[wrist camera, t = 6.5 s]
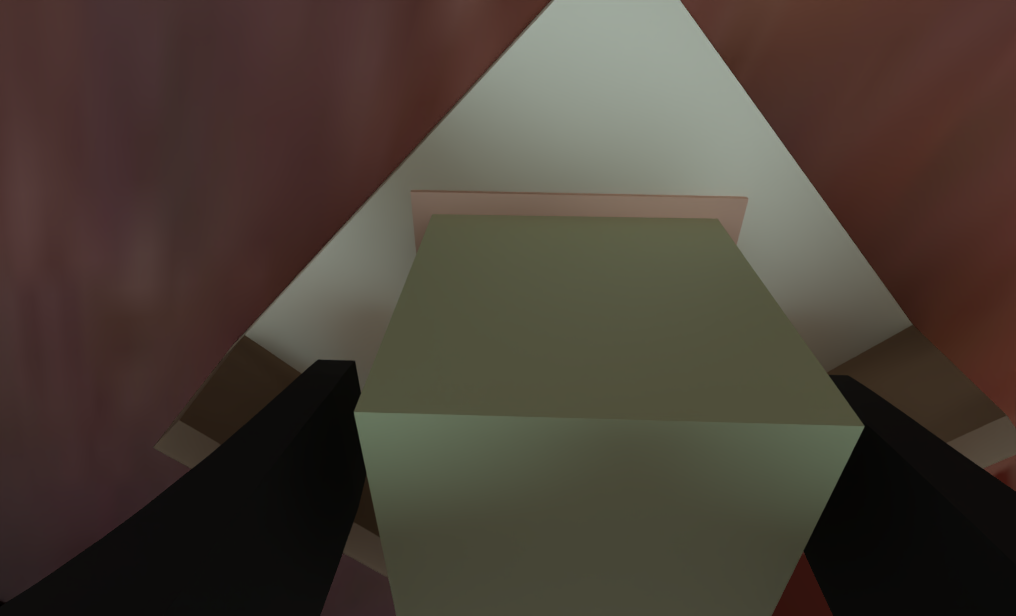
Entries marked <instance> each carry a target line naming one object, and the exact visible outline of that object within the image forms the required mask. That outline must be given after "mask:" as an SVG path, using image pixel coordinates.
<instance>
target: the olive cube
mask: <svg viewBox="0 0 1016 616" xmlns="http://www.w3.org/2000/svg"><path fill="white" fill-rule="evenodd" d="M354 416H355V420H356V425H357V430H358V435H359V439H360V444H361V449H362V454H363V459H364V463H365V468H366V473H367V478H368V482H369V487H370V492H371V497H372V502H373V506H374V511H375V516H376V521H377V525H378V530H379V535H380V540H381V545H382V549H383V554H384V559H385V564H386V568H387V573H388V578H389V583H390V588H391V592H392V597H393V602H394V607H395V611H396V616H771V615H772V613H773V611H774V609H775V607H776V605H777V603H778V601H779V599H780V597H781V595H782V593H783V591H784V589H785V587H786V585H787V583H788V581H789V579H790V577H791V575H792V573H793V571H794V569H795V567H796V564H797V563H798V561H799V559H800V557H801V555H802V553H803V551H804V548H805V546H806V544H807V542H808V540H809V538H810V536H811V534H812V532H813V530H814V528H815V526H816V524H817V522H818V520H819V518H820V516H821V514H822V512H823V510H824V508H825V506H826V504H827V502H828V500H829V498H830V496H831V494H832V492H833V490H834V488H835V486H836V484H837V481H838V479H839V477H840V475H841V473H842V471H843V469H844V467H845V465H846V463H847V461H848V459H849V457H850V455H851V453H852V451H853V449H854V447H855V445H856V443H857V441H858V439H859V437H860V435H861V433H862V431H863V429H864V427H865V426H864V425H863V423H862V422H861V420H860V419H859V418H858V416H857V415H856V413H855V412H854V411H853V409H852V408H851V406H850V405H849V403H848V402H847V401H846V399H845V398H844V396H843V395H842V394H841V392H840V391H839V389H838V388H837V387H836V385H835V384H834V382H833V381H832V379H831V378H830V377H829V375H828V374H827V372H826V371H825V370H824V368H823V367H822V365H821V364H820V363H819V361H818V360H817V358H816V357H815V356H814V354H813V353H812V351H811V350H810V348H809V347H808V346H807V344H806V343H805V341H804V340H803V339H802V337H801V336H800V334H799V333H798V332H797V330H796V329H795V327H794V326H793V324H792V323H791V322H790V320H789V319H788V317H787V316H786V315H785V313H784V312H783V310H782V309H781V308H780V306H779V305H778V303H777V302H776V300H775V299H774V298H773V296H772V295H771V293H770V292H769V291H768V289H767V288H766V286H765V285H764V284H763V282H762V281H761V279H760V278H759V276H758V275H757V274H756V272H755V271H754V269H753V268H752V267H751V265H750V264H749V262H748V261H747V260H746V258H745V257H744V255H743V254H742V252H741V251H740V250H739V248H738V247H737V245H736V244H735V243H734V241H733V240H732V238H731V237H730V236H729V234H728V233H727V231H726V230H725V229H724V227H723V226H722V224H721V223H720V221H719V220H718V219H709V218H645V217H581V216H517V215H452V214H432V216H431V219H430V221H429V224H428V226H427V229H426V231H425V234H424V236H423V239H422V241H421V244H420V246H419V249H418V251H417V254H416V257H415V259H414V262H413V264H412V267H411V269H410V272H409V274H408V277H407V279H406V282H405V284H404V287H403V289H402V292H401V294H400V297H399V299H398V302H397V304H396V307H395V309H394V312H393V314H392V317H391V319H390V322H389V325H388V327H387V330H386V332H385V335H384V337H383V340H382V342H381V345H380V347H379V350H378V352H377V355H376V357H375V360H374V362H373V365H372V367H371V370H370V372H369V375H368V377H367V380H366V382H365V385H364V387H363V390H362V392H361V395H360V398H359V400H358V403H357V405H356V408H355V410H354Z"/></svg>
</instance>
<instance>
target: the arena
mask: <svg viewBox="0 0 1016 616" xmlns="http://www.w3.org/2000/svg"><path fill="white" fill-rule="evenodd" d="M432 214H452V215H517V216H581V217H645V218H709V219H718V220H719V221H720V223H721V224H722V226H723V227H724V229H725V230H726V231H727V233H728V234H729V236H730V237H731V238H732V240H733V241H734V243H735V244H736V245H737V247H738V248H739V250H740V251H741V252H742V254H743V255H744V257H745V258H746V260H747V261H748V262H749V264H750V265H751V267H752V268H753V269H754V271H755V272H756V274H757V275H758V276H759V278H760V279H761V281H762V282H763V284H764V285H765V286H766V288H767V289H768V291H769V292H770V293H771V295H772V296H773V298H774V299H775V300H776V302H777V303H778V305H779V306H780V308H781V309H782V310H783V312H784V313H785V315H786V316H787V317H788V319H789V320H790V322H791V323H792V324H793V326H794V327H795V329H796V330H797V332H798V333H799V334H800V336H801V337H802V339H803V340H804V341H805V343H806V344H807V346H808V347H809V348H810V350H811V351H812V353H813V354H814V356H815V357H816V358H817V360H818V361H819V363H820V364H821V365H822V367H823V368H824V370H825V371H826V372H827V374H828V375H848V376H850V377H852V378H853V379H855V380H856V381H858V382H860V383H861V384H863V385H864V386H866V387H867V388H869V389H870V390H872V391H873V392H875V393H876V394H878V395H879V396H881V397H882V398H884V399H885V400H886V401H888V402H889V403H891V404H892V405H894V406H895V407H896V408H898V409H899V410H901V411H902V412H904V413H905V414H906V415H908V416H909V417H911V418H912V419H913V420H915V421H916V422H918V423H919V424H920V425H922V426H923V427H925V428H926V429H927V430H929V431H930V432H932V433H933V434H934V435H936V436H937V437H939V438H940V439H941V440H943V441H944V442H946V443H947V444H948V445H950V446H951V447H953V448H954V449H955V450H957V451H958V452H960V453H961V454H963V455H964V456H965V457H967V458H968V459H970V460H971V461H972V462H974V463H975V464H977V465H978V466H980V467H981V468H982V469H983V468H985V467H987V466H990V465H992V464H994V463H997V462H999V461H1001V460H1004V459H1006V458H1008V457H1011V456H1013V455H1015V454H1016V428H1015V427H1014V425H1013V424H1012V422H1011V421H1010V420H1009V418H1008V417H1007V415H1006V414H1005V413H1004V412H1003V411H1002V410H1001V409H1000V408H999V407H997V406H996V405H995V404H994V403H993V402H992V401H991V400H990V399H989V398H988V397H987V396H986V395H985V394H984V393H983V392H982V391H981V390H980V389H979V388H978V387H977V386H976V385H975V384H974V383H973V382H972V381H971V380H969V379H968V378H967V377H966V376H965V375H964V374H963V373H962V372H961V371H960V370H959V369H958V368H957V367H956V366H955V365H954V364H953V363H952V362H951V361H950V360H949V359H948V358H947V357H946V356H945V355H944V354H943V353H941V352H940V351H939V350H938V349H937V348H936V347H935V346H934V345H933V344H932V343H931V342H930V341H929V340H928V339H927V338H926V337H925V336H924V335H923V334H922V333H921V332H920V331H919V330H918V329H917V328H916V327H915V326H913V324H912V323H911V322H910V320H909V319H908V317H907V316H906V315H905V313H904V312H903V311H902V309H901V308H900V306H899V305H898V304H897V302H896V301H895V299H894V298H893V297H892V295H891V294H890V292H889V291H888V290H887V288H886V287H885V285H884V284H883V283H882V281H881V280H880V278H879V277H878V276H877V274H876V273H875V271H874V270H873V269H872V267H871V266H870V265H869V263H868V262H867V260H866V259H865V258H864V256H863V255H862V253H861V252H860V251H859V249H858V248H857V246H856V245H855V244H854V242H853V241H852V239H851V238H850V237H849V235H848V234H847V232H846V231H845V230H844V228H843V227H842V226H841V224H840V223H839V221H838V220H837V219H836V217H835V216H834V214H833V213H832V212H831V210H830V209H829V207H828V206H827V205H826V203H825V202H824V200H823V199H822V198H821V196H820V195H819V193H818V192H817V191H816V189H815V188H814V186H813V185H812V184H811V182H810V181H809V180H808V178H807V177H806V175H805V174H804V173H803V171H802V170H801V168H800V167H799V166H798V164H797V163H796V161H795V160H794V159H793V157H792V156H791V154H790V153H789V152H788V150H787V149H786V147H785V146H784V145H783V143H782V142H781V140H780V139H779V138H778V136H777V135H776V134H775V132H774V131H773V129H772V128H771V127H770V125H769V124H768V122H767V121H766V120H765V118H764V117H763V115H762V114H761V113H760V111H759V110H758V108H757V107H756V106H755V104H754V103H753V101H752V100H751V99H750V97H749V96H748V95H747V93H746V92H745V90H744V89H743V88H742V86H741V85H740V83H739V82H738V81H737V79H736V78H735V76H734V75H733V74H732V72H731V71H730V69H729V68H728V67H727V65H726V64H725V62H724V61H723V60H722V58H721V57H720V55H719V54H718V53H717V51H716V50H715V49H714V47H713V46H712V44H711V43H710V42H709V40H708V39H707V37H706V36H705V35H704V33H703V32H702V30H701V29H700V28H699V26H698V25H697V23H696V22H695V21H694V19H693V18H692V16H691V15H690V14H689V12H688V11H687V9H686V8H685V7H684V5H683V4H682V3H681V1H680V0H551V1H550V2H549V3H548V5H547V6H546V7H545V8H544V9H543V10H542V11H541V12H540V13H539V14H538V15H537V16H536V18H535V19H534V20H533V21H532V22H531V23H530V24H529V25H528V26H527V27H526V28H525V29H524V31H523V32H522V33H521V34H520V35H519V36H518V37H517V38H516V39H515V40H514V41H513V42H512V44H511V45H510V46H509V47H508V48H507V49H506V50H505V51H504V52H503V53H502V54H501V55H500V57H499V58H498V59H497V60H496V61H495V62H494V63H493V64H492V65H491V66H490V67H489V68H488V70H487V71H486V72H485V73H484V74H483V75H482V76H481V77H480V78H479V79H478V80H477V81H476V83H475V84H474V85H473V86H472V87H471V88H470V89H469V90H468V91H467V92H466V93H465V94H464V96H463V97H462V98H461V99H460V100H459V101H458V102H457V103H456V104H455V105H454V106H453V107H452V109H451V110H450V111H449V112H448V113H447V114H446V115H445V116H444V117H443V118H442V119H441V120H440V122H439V123H438V124H437V125H436V126H435V127H434V128H433V129H432V130H431V131H430V132H429V133H428V135H427V136H426V137H425V138H424V139H423V140H422V141H421V142H420V143H419V144H418V145H417V146H416V148H415V149H414V150H413V151H412V152H411V153H410V154H409V155H408V156H407V157H406V158H405V159H404V161H403V162H402V163H401V164H400V165H399V166H398V167H397V168H396V169H395V170H394V171H393V172H392V174H391V175H390V176H389V177H388V178H387V179H386V180H385V181H384V182H383V183H382V184H381V185H380V187H379V188H378V189H377V190H376V191H375V192H374V193H373V194H372V195H371V196H370V197H369V198H368V200H367V201H366V202H365V203H364V204H363V205H362V206H361V207H360V208H359V209H358V210H357V211H356V212H355V214H354V215H353V216H352V217H351V218H350V219H349V220H348V221H347V222H346V223H345V224H344V225H343V227H342V228H341V229H340V230H339V231H338V232H337V233H336V234H335V235H334V236H333V237H332V238H331V240H330V241H329V242H328V243H327V244H326V245H325V246H324V247H323V248H322V249H321V250H320V251H319V253H318V254H317V255H316V256H315V257H314V258H313V259H312V260H311V261H310V262H309V263H308V264H307V266H306V267H305V268H304V269H303V270H302V271H301V272H300V273H299V274H298V275H297V276H296V277H295V279H294V280H293V281H292V282H291V283H290V284H289V285H288V286H287V287H286V288H285V289H284V290H283V292H282V293H281V294H280V295H279V296H278V297H277V298H276V299H275V300H274V301H273V302H272V303H271V305H270V306H269V307H268V308H267V309H266V310H265V311H264V312H263V313H262V314H261V315H260V316H259V318H258V319H257V320H256V321H255V322H254V323H253V324H252V325H251V326H250V327H249V328H248V329H247V331H246V332H245V333H244V334H243V335H242V336H241V337H240V338H239V339H238V340H237V341H236V342H235V344H234V345H233V346H232V347H231V348H230V349H229V351H228V352H227V353H226V355H225V356H224V357H223V358H222V360H221V361H220V362H219V364H218V365H217V366H216V367H215V369H214V370H213V371H212V373H211V374H210V375H209V376H208V378H207V379H206V380H205V381H204V383H203V384H202V385H201V387H200V388H199V389H198V390H197V392H196V393H195V394H194V396H193V397H192V398H191V399H190V401H189V402H188V403H187V405H186V406H185V407H184V408H183V410H182V411H181V412H180V414H179V415H178V416H177V417H176V419H175V420H174V421H173V423H172V424H171V425H170V426H169V428H168V429H167V430H166V432H165V433H164V434H163V435H162V437H161V438H160V439H159V441H158V442H157V443H156V444H155V446H154V447H153V448H155V449H156V450H158V451H160V452H162V453H164V454H165V455H167V456H169V457H171V458H173V459H174V460H176V461H178V462H180V463H182V464H184V465H185V466H187V467H189V468H191V469H192V468H194V467H195V466H196V465H197V464H199V463H200V462H201V461H202V460H204V459H205V458H206V457H207V456H209V455H210V454H211V453H212V452H213V451H215V450H216V449H217V448H218V447H219V446H220V445H222V444H223V443H224V442H225V441H226V440H227V439H228V438H230V437H231V436H232V435H233V434H234V433H235V432H237V431H238V430H239V429H240V428H241V427H242V426H243V425H245V424H246V423H247V422H248V421H249V420H250V419H251V418H253V417H254V416H255V415H256V414H257V413H258V412H259V411H260V410H262V409H263V408H264V407H265V406H266V405H267V404H268V403H269V402H271V401H272V400H273V399H274V398H275V397H276V396H277V395H278V394H279V393H281V392H282V391H283V390H284V389H285V388H286V387H287V386H288V385H289V384H291V383H292V382H293V381H294V380H295V379H296V378H297V377H298V376H299V375H301V374H302V373H303V372H304V371H305V370H306V369H307V368H308V367H310V366H311V365H312V364H313V363H314V362H316V361H317V360H318V359H320V360H354V361H355V363H356V368H357V374H358V379H359V384H360V390H361V392H362V390H363V387H364V385H365V382H366V380H367V377H368V375H369V372H370V370H371V367H372V365H373V362H374V360H375V357H376V355H377V352H378V350H379V347H380V345H381V342H382V340H383V337H384V335H385V332H386V330H387V327H388V325H389V322H390V319H391V317H392V314H393V312H394V309H395V307H396V304H397V302H398V299H399V297H400V294H401V292H402V289H403V287H404V284H405V282H406V279H407V277H408V274H409V272H410V269H411V267H412V264H413V262H414V259H415V257H416V254H417V251H418V249H419V246H420V244H421V241H422V239H423V236H424V234H425V231H426V229H427V226H428V224H429V221H430V219H431V216H432ZM343 553H344V554H346V555H348V556H350V557H351V558H353V559H355V560H357V561H359V562H360V563H362V564H364V565H366V566H368V567H369V568H371V569H373V570H375V571H377V572H379V573H380V574H382V575H384V576H386V577H388V573H387V568H386V564H385V559H384V554H383V549H382V545H381V540H380V535H379V530H378V525H377V521H376V516H375V511H374V506H373V502H372V497H371V492H370V487H369V482H368V478H367V473H366V478H365V483H364V487H363V491H362V495H361V499H360V503H359V508H358V511H357V513H356V516H355V519H354V522H353V525H352V528H351V531H350V534H349V536H348V539H347V542H346V545H345V548H344V550H343Z"/></svg>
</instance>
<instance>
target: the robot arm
mask: <svg viewBox="0 0 1016 616" xmlns="http://www.w3.org/2000/svg"><path fill="white" fill-rule="evenodd" d="M829 377H830V378H831V379H832V381H833V382H834V384H835V385H836V387H837V388H838V389H839V391H840V392H841V394H842V395H843V396H844V398H845V399H846V401H847V402H848V403H849V405H850V406H851V408H852V409H853V411H854V412H855V413H856V415H857V416H858V418H859V419H860V420H861V422H862V423H863V425H864V426H865V427H864V429H863V431H862V433H861V435H860V437H859V439H858V441H857V443H856V445H855V447H854V449H853V451H852V453H851V455H850V457H849V459H848V461H847V463H846V465H845V467H844V469H843V471H842V473H841V475H840V477H839V479H838V481H837V484H836V486H835V488H834V490H833V492H832V494H831V496H830V498H829V500H828V502H827V504H826V506H825V508H824V510H823V512H822V514H821V516H820V518H819V520H818V522H817V524H816V526H815V528H814V530H813V532H812V534H811V536H810V538H809V540H808V542H807V544H806V546H805V548H804V553H805V555H806V558H807V560H808V562H809V564H810V566H811V569H812V571H813V573H814V575H815V577H816V580H817V582H818V584H819V586H820V588H821V590H822V593H823V595H824V597H825V599H826V601H827V603H828V605H829V608H830V610H831V612H832V614H833V616H1016V491H1014V490H1013V489H1011V488H1010V487H1008V486H1007V485H1005V484H1004V483H1002V482H1001V481H1000V480H998V479H997V478H995V477H994V476H992V475H991V474H990V473H988V472H987V471H985V470H984V469H982V468H981V467H980V466H978V465H977V464H975V463H974V462H972V461H971V460H970V459H968V458H967V457H965V456H964V455H963V454H961V453H960V452H958V451H957V450H955V449H954V448H953V447H951V446H950V445H948V444H947V443H946V442H944V441H943V440H941V439H940V438H939V437H937V436H936V435H934V434H933V433H932V432H930V431H929V430H927V429H926V428H925V427H923V426H922V425H920V424H919V423H918V422H916V421H915V420H913V419H912V418H911V417H909V416H908V415H906V414H905V413H904V412H902V411H901V410H899V409H898V408H896V407H895V406H894V405H892V404H891V403H889V402H888V401H886V400H885V399H884V398H882V397H881V396H879V395H878V394H876V393H875V392H873V391H872V390H870V389H869V388H867V387H866V386H864V385H863V384H861V383H860V382H858V381H856V380H855V379H853V378H852V377H850V376H848V375H829ZM360 395H361V390H360V384H359V379H358V374H357V368H356V363H355V361H354V360H320V359H318V360H317V361H316V362H314V363H313V364H312V365H311V366H310V367H308V368H307V369H306V370H305V371H304V372H303V373H302V374H301V375H299V376H298V377H297V378H296V379H295V380H294V381H293V382H292V383H291V384H289V385H288V386H287V387H286V388H285V389H284V390H283V391H282V392H281V393H279V394H278V395H277V396H276V397H275V398H274V399H273V400H272V401H271V402H269V403H268V404H267V405H266V406H265V407H264V408H263V409H262V410H260V411H259V412H258V413H257V414H256V415H255V416H254V417H253V418H251V419H250V420H249V421H248V422H247V423H246V424H245V425H243V426H242V427H241V428H240V429H239V430H238V431H237V432H235V433H234V434H233V435H232V436H231V437H230V438H228V439H227V440H226V441H225V442H224V443H223V444H222V445H220V446H219V447H218V448H217V449H216V450H215V451H213V452H212V453H211V454H210V455H209V456H207V457H206V458H205V459H204V460H202V461H201V462H200V463H199V464H197V465H196V466H195V467H194V468H192V469H191V470H190V471H189V472H187V473H186V474H185V475H184V476H182V477H181V478H180V479H179V480H177V481H176V482H175V483H174V484H172V485H171V486H170V487H169V488H167V489H166V490H165V491H164V492H162V493H161V494H160V495H159V496H157V497H156V498H155V499H154V500H152V501H151V502H150V503H149V504H147V505H146V506H145V507H144V508H142V509H141V510H140V511H138V512H137V513H136V514H134V515H133V516H132V517H130V518H129V519H128V520H126V521H125V522H124V523H122V524H121V525H119V526H118V527H117V528H115V529H114V530H113V531H111V532H110V533H109V534H107V535H106V536H104V537H103V538H102V539H100V540H99V541H97V542H96V543H94V544H93V545H92V546H90V547H89V548H87V549H86V550H84V551H83V552H82V553H80V554H79V555H77V556H76V557H74V558H73V559H72V560H70V561H69V562H67V563H66V564H64V565H63V566H62V567H60V568H59V569H57V570H56V571H54V572H53V573H51V574H50V575H48V576H47V577H45V578H44V579H42V580H41V581H39V582H38V583H36V584H35V585H33V586H32V587H30V588H29V589H27V590H26V591H24V592H22V593H21V594H19V595H18V596H16V597H15V598H13V599H11V600H10V601H8V602H7V603H5V604H3V605H2V606H0V616H320V614H321V612H322V609H323V606H324V603H325V600H326V598H327V595H328V592H329V589H330V587H331V584H332V581H333V578H334V576H335V573H336V570H337V567H338V564H339V562H340V559H341V556H342V553H343V550H344V548H345V545H346V542H347V539H348V536H349V534H350V531H351V528H352V525H353V522H354V519H355V516H356V513H357V511H358V508H359V503H360V499H361V495H362V491H363V487H364V483H365V478H366V468H365V463H364V459H363V454H362V449H361V444H360V439H359V435H358V430H357V425H356V420H355V416H354V410H355V408H356V405H357V403H358V400H359V398H360Z"/></svg>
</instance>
